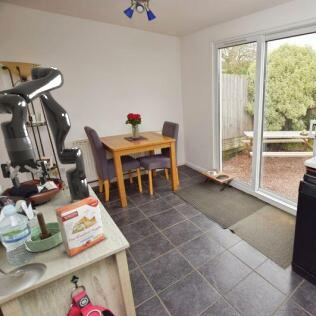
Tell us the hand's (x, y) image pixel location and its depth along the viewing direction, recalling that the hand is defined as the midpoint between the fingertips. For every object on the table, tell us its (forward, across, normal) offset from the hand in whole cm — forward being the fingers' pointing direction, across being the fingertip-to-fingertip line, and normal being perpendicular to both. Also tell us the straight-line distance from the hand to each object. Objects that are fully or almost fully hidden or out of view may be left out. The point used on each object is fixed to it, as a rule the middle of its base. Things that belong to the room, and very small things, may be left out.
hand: (30, 185), depth 91 cm
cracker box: (+28, -17, +7) cm, 34 cm away
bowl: (+28, 0, 0) cm, 28 cm away
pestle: (+28, 0, 0) cm, 28 cm away
